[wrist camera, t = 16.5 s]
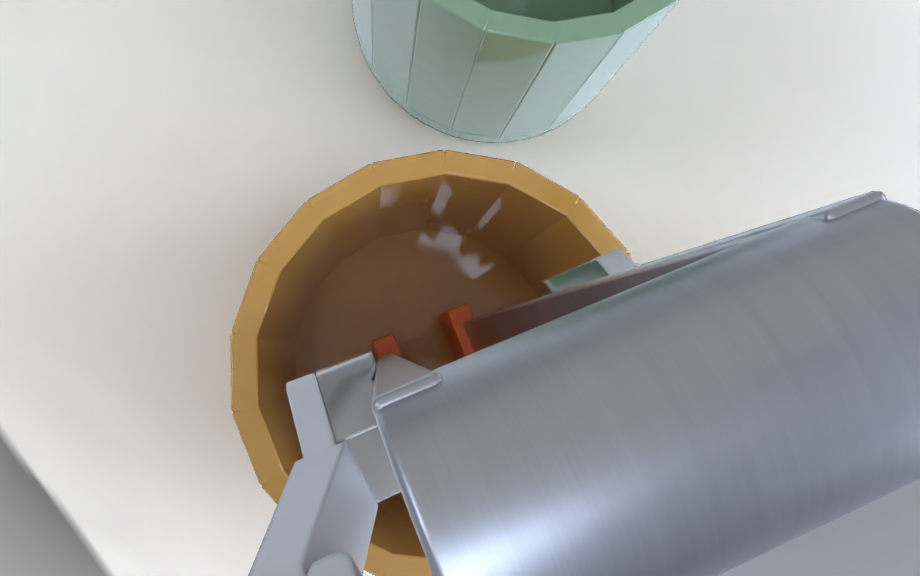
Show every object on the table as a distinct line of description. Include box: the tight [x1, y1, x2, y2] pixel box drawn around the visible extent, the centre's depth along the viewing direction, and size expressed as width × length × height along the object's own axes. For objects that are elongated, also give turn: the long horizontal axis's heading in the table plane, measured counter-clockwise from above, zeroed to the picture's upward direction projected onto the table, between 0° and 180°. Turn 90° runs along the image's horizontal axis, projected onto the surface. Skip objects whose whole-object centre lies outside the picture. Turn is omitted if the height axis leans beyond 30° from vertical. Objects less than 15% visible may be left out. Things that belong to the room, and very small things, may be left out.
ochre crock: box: [230, 150, 632, 576], centre depth 22 cm, size 10×10×9 cm
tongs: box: [372, 191, 920, 576], centre depth 14 cm, size 3×3×22 cm
